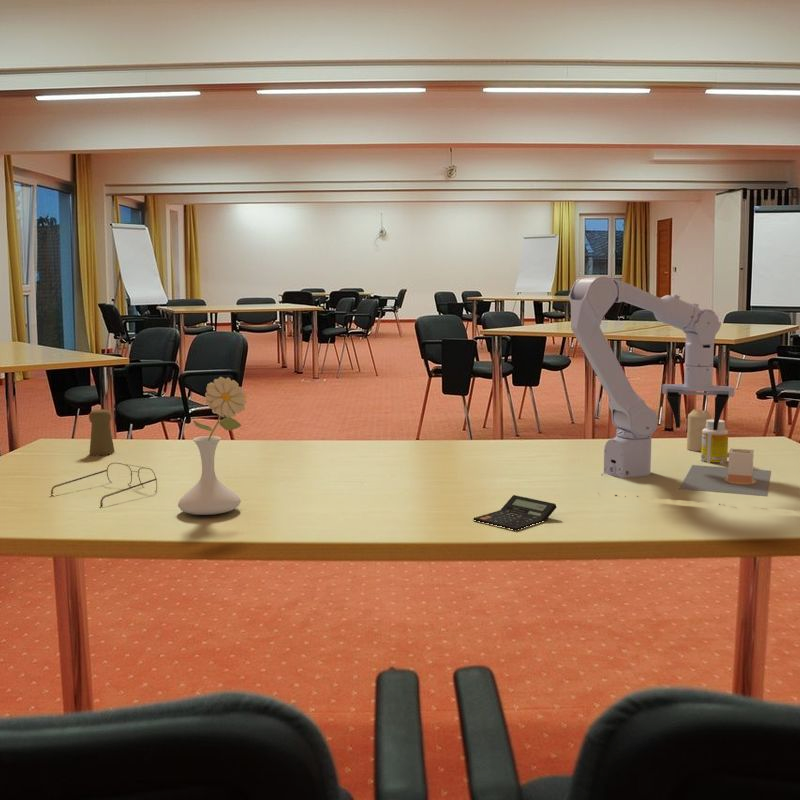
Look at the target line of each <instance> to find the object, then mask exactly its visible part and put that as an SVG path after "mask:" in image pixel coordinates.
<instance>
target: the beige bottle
mask: <svg viewBox="0 0 800 800" xmlns="http://www.w3.org/2000/svg"><path fill="white" fill-rule="evenodd" d="M712 417H713V416H712V414H711V413H710V412H709V410H708V409H704V410H701V409H696V408H694V409H692V411H690V413H688V414H687V428H686V429H687V434H686V449H687V450H688V451H692V452H701V448H702V430H703V429H704V428H707V427H706V420H709V419H713V418H712Z"/></svg>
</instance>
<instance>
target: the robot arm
mask: <svg viewBox="0 0 800 800" xmlns="http://www.w3.org/2000/svg"><path fill="white" fill-rule="evenodd" d="M567 297H568V298H567V299H568V300H569V302H570V303H569V304H570V328H571V332H572V333H573V335H574V337H575V338H576V340H577V342H578V343H579V346H580V347H581V350H582V351H583V353H584V355H585V357H586V358H587V360H588V362H589V364H590V367H591V368H592V369H593V372H594V374H595V375H596V377H597V379H598V381H599V383H600V384H601V386H602V388H603V390H604V391H605V393H606V395H607V397H608V399H609V401H608V405H607V406H608V408H609V409H610V412H611V422H612V424H613V426H614V427H615V428H616V436H615V437H614V438H613V437H612V438H611V439H609V440H607V441H606V442H605V445H604V449H603V450H604V451H603V453H604V454H603V473H601V474H600V475H601V476H602V477H603V476H604V475H605V474H606V475H609V476H614V477H617V478H621V479H629V478H633V477H634V478H635V477H646V476H650V475H651V471H652V470H651V468H652V467H651V466H652V463H651V462H652V438H653V436H652V435H653V434H654V432H656V430H657V427H658V425H659V418H658V414H657V413H656V411H655V410H654V409H652V408H650V406H648V405H647V404H646V402H645V400H644V399H643V398H642V397H641V396H640V395H639V394H638V393H637V392H636V391H635V390H634V389H633V386H632V385H631V383H630V380H629V379H628V378H627V375H626V373H625V371H624V369H623V368H622V366H621V364H620V362H619V361H618V358H617V357H616V355H615V353H614V351H613V349H612V348H611V345H610V343H609V342H608V340H607V338H606V336H605V334H604V332H603V331H602V329H601V324H602V321H603V319H604V317H605V315H606V314H607V313H608V311H609V310H610V308H612V306H613V305H614V303H626V304H629V305H632V306H635V307H637V308H640V309H643V310H647V311H649V312H652V313H653V316H654V318H655V320H657V321H658V322H660V323H664V324H666V325H668V326H670V327H674V328H676V329H679V330H681V331H682V332H683V333H684V334H685V346H684V347H685V353H684V377H683V379H684V380H683V381H684V382H683V383H681V384H680V383H676V384H675V383H674V384H673V383H670V384H669V383H663V384H662V386H661V387H662V388H661V390H662V391H661V393H662V394H663V395H666V399H667V402H668V403H669V406H670V408H671V411H672V414H673V418H674V423H675V424H674V425H675V429H679V428H681V403H682V402H681V401H682V395H691V396H692V395H697V396H715V397H714V425H713V430H717V429H718V423H719V420H721V416H722V413H723V410H724V408H725V407H726V404H727V402H728V400H729V398H730V397H731V398H732V397H733V398H734V397H735V386H728V385H714V384H713V375H714V357H715V356H714V355H715V354H714V352H715V351H714V350H715V342H716V335H717V334H718V332H719V331H720V328H721V325H722V323H721V322H720V321H719V316H718V315H717V314H716V312H715V311H714V310H712V309H707V308H700V307H699V304H698V303H696V302H692V303H690V302H687V301H685V300H682V299H680V298H681V296H680V295H678V294H675V293H673V294H670V295H669V294H666V295H664V296H662V297H659V296H657V295H654V294H652V293H650V292H648V291H645V290H643V289H641V288H638V287H636V286H634V285H632V284H630V283H627V282H625V281H622V280H619V279H612V278H611V277H608V276H604V275H603V276H598V277H596V276H594V277H592V276H582V277H579V278H578V279H576V280H575V281H574V283H573V284H572V287H571V289H570V292H569V294H568V296H567Z"/></svg>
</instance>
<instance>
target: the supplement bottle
mask: <svg viewBox="0 0 800 800" xmlns="http://www.w3.org/2000/svg"><path fill="white" fill-rule="evenodd" d="M725 423H726V421H725V420H723V419H719V423H718V429H717V430H713V425H714V419H713V418H712V419H709V420H706V427H707V428H704V429H703V430H702V448H701V451H700V452H701V454H700V458H701V459H700V461H701V462H702V463H708V464H726V463H728V453H729V452H728V448H729V446H728V445H729V430H728V429H727V428H726V427H725V426H726V425H725Z"/></svg>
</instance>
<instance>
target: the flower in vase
mask: <svg viewBox="0 0 800 800" xmlns="http://www.w3.org/2000/svg"><path fill="white" fill-rule="evenodd" d="M205 389H206V392H205V394H204V398H205V400H204V402H205V404H206V405H208V406H207V407H208V408H209V409H211V412H212V413H213V414H216V415H218V418H217V421H216V423H215V426H213V429H212V428H211V426H209V425H206V424H202V423H200V422H197V421H196V420H193V424H194V425H195V427H197V428H198V429H199V428H200V429H202V430H206V431H209V432H210V434H209V435H205V436H197V437H194V438H192V441H193V442H194V444H196V446H197V448H198V450H199V454H200V458H201V459H200V461H201V475H200V479H199V480H198V481H197V483H195V484H194V485H193V486H192V487H191V488H190V489H189V490H188V491H186V492H185V493H184V494H183V496H181V497H180V499H179V500H178V503H177V507H178V508H179V510H180V511H181V512H184V513H187V514H190V515H198V516H208V515H209V516H210V515H211V516H213V515H219V514H220V515H221V514H223V513H224V514H225V513H227V512H228V513H229V512H230V511H232V510H235V509H237V508H239V506H240V504H241V503H242V500H241V498H240V496H239V494H237V493H236V492H235V491H234V490H233V489H232V488H230V487H228V486H227V485H226V484H224V483H223V482H221V480H219V479H218V477H217V475H216V472H215V455H216V450H217V448H218V447H217V446H218V444H219V442H220V441H221V439H222V438H221V437H220V436H217V435H213V434H214V432H215V430H216V428H217V426H218V425H219V426H221V428H223V430H224V431H227V432H228V431H233V430H236V429H239V428H240V427H242V424H241V423H240V422H239V421H238V420H237V419H235V418H234V417H236V414H240V413H242V411H243V412H244V411H245V404H247V399H246V398H247V395H246V392H245V391H243V387H242V386H239V383H238V382H237V381H236V380H234V379H232V380H231V378H230V377H226V378H225V377H223V376H219V377H218V378H214V379H213V382H209V383H207V385H206V387H205ZM224 416H225V417H224ZM221 417H224V418H222V419H221Z"/></svg>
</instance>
